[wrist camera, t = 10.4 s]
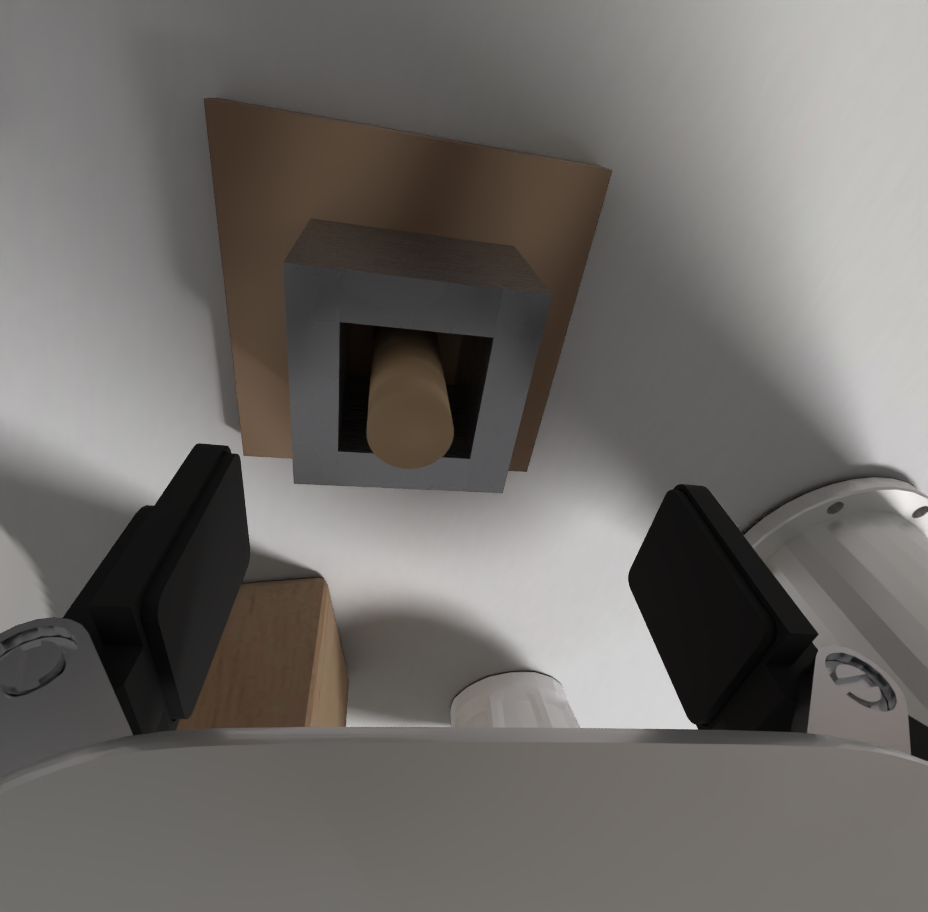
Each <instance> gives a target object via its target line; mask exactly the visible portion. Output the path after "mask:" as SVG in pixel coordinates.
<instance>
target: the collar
mask: <svg viewBox="0 0 928 912" xmlns="http://www.w3.org/2000/svg"><path fill="white" fill-rule="evenodd" d="M283 272H284V292H285V312H286V332H287V353H288V373H289V393H290V413H291V434H292V454H293V474H294V484H314V485H336V486H358V487H381V488H403V489H425V490H447V491H469V492H492V493H503V489H504V485H505V481H506V477H507V473H508V469H509V465H510V461H511V457H512V453H513V449H514V445H515V441H516V437H517V433H518V429H519V425H520V422H521V418H522V414H523V410H524V406H525V402H526V398H527V394H528V390H529V386H530V382H531V378H532V374H533V370H534V366H535V362H536V358H537V354H538V350H539V346H540V342H541V339H542V335H543V331H544V327H545V323H546V319H547V315H548V311H549V307H550V303H551V299H552V294H551V292H550V291H549V290H548V289H547V287H546V286H545V285H544V283H543V282H542V281H541V280H540V278H539V277H538V276H537V274H536V273H535V272H534V271H533V269H532V268H531V267H530V266H529V264H528V263H527V262H526V260H525V259H524V258H523V257H522V255H521V254H520V253H519V251H518V250H517V249H516V248H515V246H509V245H501V244H494V243H487V242H480V241H472V240H465V239H458V238H450V237H443V236H436V235H429V234H421V233H414V232H407V231H399V230H392V229H385V228H377V227H370V226H363V225H356V224H348V223H341V222H334V221H326V220H319V219H312V218H311V219H310V220H309V222H308V223H307V225H306V227H305V228H304V230H303V231H302V233H301V235H300V236H299V238H298V239H297V241H296V243H295V244H294V246H293V247H292V249H291V251H290V252H289V254H288V255H287V257H286V259H285V260H284V262H283ZM351 323H355V324H364V325H374V326H384V327H394V328H404V329H413V330H423V331H433V332H443V333H452V334H462V337H461V343H460V350H459V356H458V362H457V369H456V375H455V381H454V384H451V383H445V384H446V389H447V395H448V400H449V405H450V411H451V416H452V422H453V427H454V436H453V441H452V444H451V446H450V448H449V449H448V451H447V452H446V453H445V455H444V456H442V457H441V458H440V459H439V460H438V461H436V462H434V463H433V464H430V465H428V466H425V467H421V468H416V469H404V468H398V467H394V466H391V465H389V464H387V463H385V462H383V461H382V460H380V459H379V458H378V457H377V456H376V455H375V454H374V453H373V451H372V450H371V448H370V446H369V444H368V441H367V434H366V430H367V417H368V403H369V390H370V377H368V376H356V375H349V368H350V329H351Z"/></svg>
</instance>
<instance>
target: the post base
mask: <svg viewBox="0 0 928 912" xmlns="http://www.w3.org/2000/svg"><path fill="white" fill-rule="evenodd" d="M204 105H205V114H206V123H207V132H208V140H209V149H210V158H211V167H212V176H213V185H214V194H215V203H216V212H217V221H218V230H219V239H220V248H221V257H222V266H223V275H224V284H225V293H226V302H227V311H228V320H229V328H230V337H231V346H232V355H233V364H234V373H235V382H236V391H237V400H238V409H239V418H240V427H241V436H242V445H243V454H244V456H258V457H276V458H293V454H292V434H291V413H290V393H289V373H288V353H287V332H286V312H285V292H284V272H283V262H284V260H285V259H286V257H287V255H288V254H289V252H290V251H291V249H292V247H293V246H294V244H295V243H296V241H297V239H298V238H299V236H300V235H301V233H302V231H303V230H304V228H305V227H306V225H307V223H308V222H309V220H310V219H311V218H312V219H319V220H326V221H334V222H341V223H348V224H356V225H363V226H370V227H377V228H385V229H392V230H399V231H407V232H414V233H421V234H429V235H436V236H443V237H450V238H458V239H465V240H472V241H480V242H487V243H494V244H501V245H509V246H515V248H516V249H517V250H518V251H519V253H520V254H521V255H522V257H523V258H524V259H525V260H526V262H527V263H528V264H529V266H530V267H531V268H532V269H533V271H534V272H535V273H536V274H537V276H538V277H539V278H540V280H541V281H542V282H543V283H544V285H545V286H546V287H547V289H548V290H549V291H550V292H551V294H552V299H551V303H550V307H549V311H548V315H547V319H546V323H545V327H544V331H543V335H542V339H541V342H540V346H539V350H538V354H537V358H536V362H535V366H534V370H533V374H532V378H531V382H530V386H529V390H528V394H527V398H526V402H525V406H524V410H523V414H522V418H521V422H520V425H519V429H518V433H517V437H516V441H515V445H514V449H513V453H512V457H511V461H510V465H509V469H508V471H523V472H527V469H528V465H529V462H530V458H531V455H532V451H533V448H534V444H535V441H536V437H537V434H538V430H539V427H540V423H541V420H542V416H543V413H544V409H545V405H546V402H547V398H548V395H549V391H550V388H551V384H552V381H553V377H554V374H555V370H556V367H557V363H558V360H559V356H560V353H561V349H562V346H563V342H564V339H565V335H566V332H567V328H568V325H569V321H570V318H571V314H572V311H573V307H574V303H575V300H576V296H577V293H578V289H579V286H580V282H581V279H582V275H583V272H584V268H585V265H586V261H587V258H588V254H589V251H590V247H591V244H592V240H593V237H594V233H595V230H596V226H597V223H598V219H599V216H600V212H601V209H602V205H603V202H604V198H605V194H606V191H607V187H608V184H609V180H610V177H611V173H612V170H609V169H606V168H604V167H601V166H597V165H591V164H585V163H580V162H574V161H568V160H563V159H557V158H552V157H546V156H540V155H535V154H529V153H523V152H518V151H512V150H506V149H501V148H495V147H490V146H484V145H478V144H473V143H467V142H461V141H456V140H450V139H444V138H439V137H433V136H428V135H422V134H416V133H411V132H405V131H399V130H394V129H388V128H382V127H377V126H371V125H366V124H360V123H354V122H349V121H343V120H337V119H332V118H326V117H320V116H315V115H309V114H304V113H298V112H292V111H287V110H281V109H275V108H270V107H264V106H259V105H253V104H247V103H242V102H236V101H230V100H225V99H219V98H206V99H204ZM461 337H462V334H452V333H443V332H433V331H423V330H413V329H404V328H394V327H384V326H374V325H364V324H355V323H351V329H350V368H349V375H356V376H368V377H370V390H369V403H368V417H367V430H366V434H367V441H368V444H369V446H370V448H371V450H372V451H373V453H374V454H375V455H376V456H377V457H378V458H379V459H380V460H382V461H383V462H385V463H387V464H389V465H391V466H394V467H398V468H404V469H416V468H421V467H425V466H428V465H430V464H433V463H434V462H436V461H438V460H439V459H440V458H441V457H442V456H444V455H445V453H446V452H447V451H448V449H449V448H450V446H451V444H452V441H453V436H454V427H453V422H452V416H451V411H450V405H449V400H448V395H447V389H446V384H445V383H451V384H454V381H455V375H456V369H457V362H458V356H459V350H460V343H461Z"/></svg>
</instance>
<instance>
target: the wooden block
mask: <svg viewBox="0 0 928 912" xmlns="http://www.w3.org/2000/svg"><path fill="white" fill-rule="evenodd" d="M348 687H349V678H348V674H347V669H346V665H345V660H344V656H343V651H342V647H341V642H340V638H339V633H338V629H337V624H336V620H335V615H334V611H333V606H332V602H331V597H330V593H329V588H328V585H327V583H326V581H325V580H324V579H322V578H308V579H296V580H283V581H271V582H258V583H246V584H241V586H240V589H239V591H238V594H237V597H236V599H235V602H234V605H233V607H232V610H231V613H230V615H229V618H228V621H227V623H226V626H225V629H224V631H223V634H222V637H221V639H220V642H219V645H218V647H217V650H216V652H215V655H214V658H213V660H212V663H211V666H210V668H209V671H208V674H207V676H206V679H205V682H204V684H203V687H202V690H201V692H200V695H199V698H198V700H197V703H196V706H195V708H194V711H193V713H192V715H191V717H190V718H189V719H180V721H179V723H178V726H177V728H176V731H177V730H194V729H211V728H265V727H346V714H347V701H348Z"/></svg>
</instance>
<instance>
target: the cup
mask: <svg viewBox="0 0 928 912" xmlns="http://www.w3.org/2000/svg"><path fill="white" fill-rule="evenodd" d="M450 714H451V725H452V727H497V728H580V726H579V724H578V722H577V720H576V718H575V716H574V714H573V711H572V709H571V707H570V705H569V703H568V700H567V697H566V694H565V691H564V688H563V686H562V685H561V684H560V683H558V682H557V681H556V680H554V679H553V678H551V677H549V676H546V675H543V674H539V673H535V672H508V673H503V674H498V675H493V676H489V677H486V678H484V679H482V680H480V681H477V682H476V683H474V684H472V685H470V686H468V687H467V688H466V689H464V690H463V691H462V692H461V693H460V694H459V695H458V696H457V697H455V698H454V700H453V703H452V706H451V710H450Z"/></svg>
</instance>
